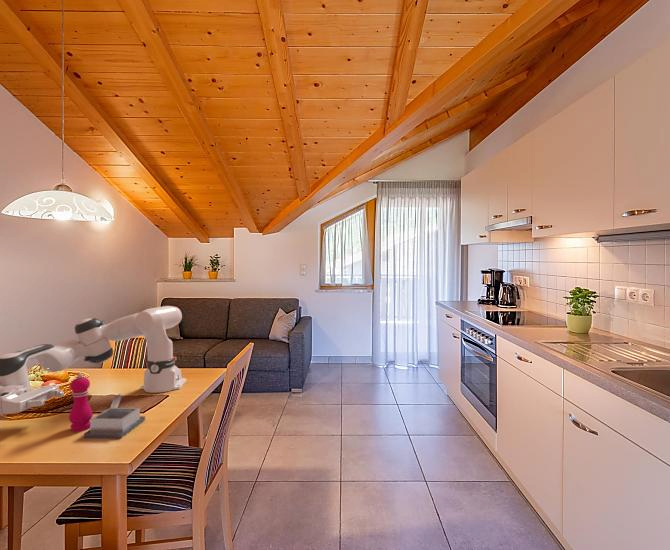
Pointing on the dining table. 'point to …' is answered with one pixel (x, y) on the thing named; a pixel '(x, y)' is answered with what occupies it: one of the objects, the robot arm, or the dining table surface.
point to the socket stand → (114, 423)
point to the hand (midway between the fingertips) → (53, 398)
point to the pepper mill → (80, 404)
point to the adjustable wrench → (116, 401)
